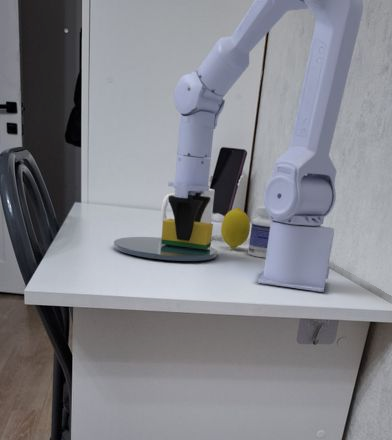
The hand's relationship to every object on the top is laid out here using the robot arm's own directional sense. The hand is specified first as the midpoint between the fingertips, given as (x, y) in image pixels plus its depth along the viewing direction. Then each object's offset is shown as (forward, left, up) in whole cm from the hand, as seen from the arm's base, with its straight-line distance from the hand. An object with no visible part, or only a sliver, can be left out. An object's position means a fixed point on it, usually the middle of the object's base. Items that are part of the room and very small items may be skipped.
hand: (186, 238), depth 96 cm
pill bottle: (-13, -9, -3) cm, 16 cm away
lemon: (-7, -12, -3) cm, 14 cm away
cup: (+5, -20, -3) cm, 21 cm away
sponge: (0, 0, -1) cm, 1 cm away
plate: (+3, +2, -3) cm, 5 cm away
